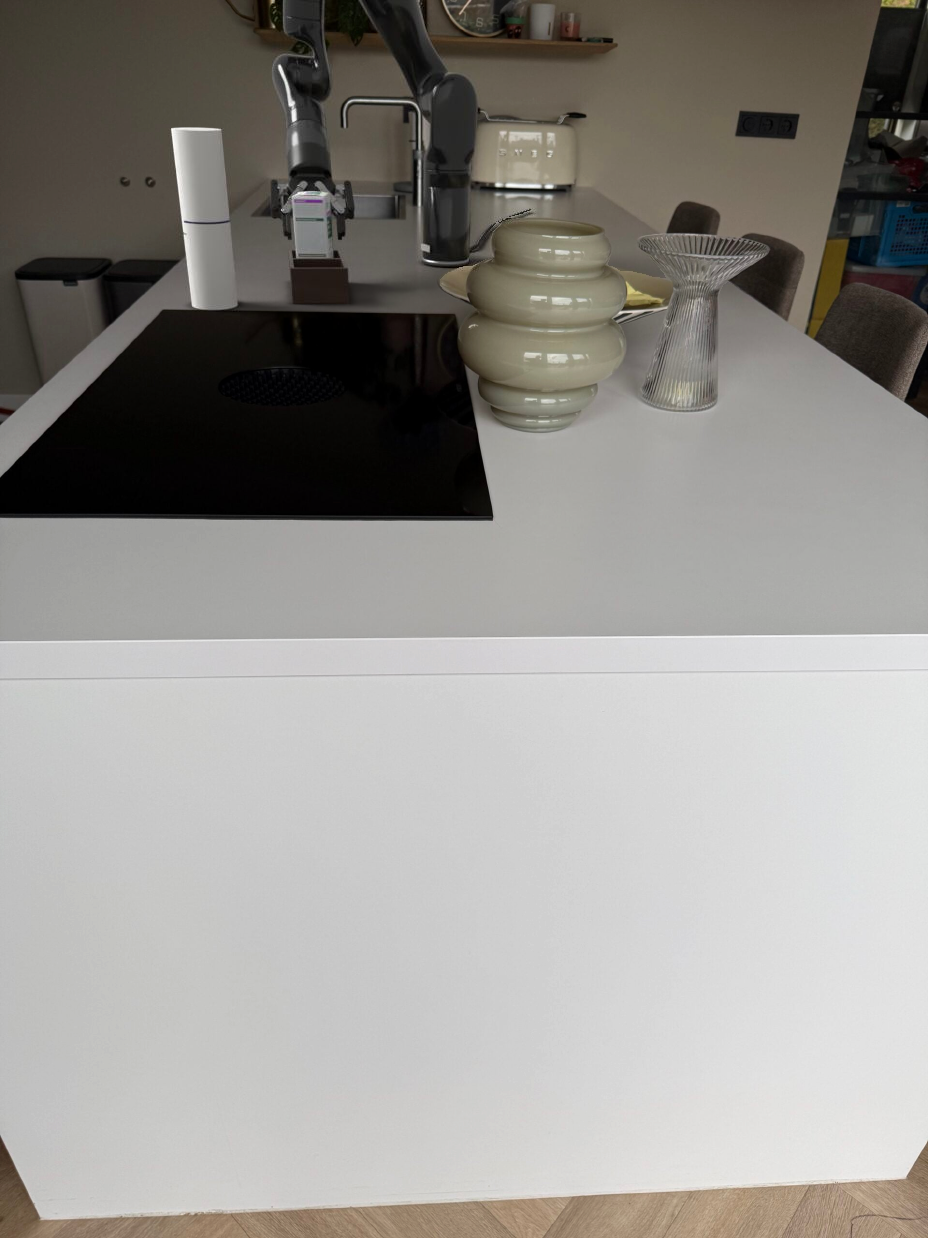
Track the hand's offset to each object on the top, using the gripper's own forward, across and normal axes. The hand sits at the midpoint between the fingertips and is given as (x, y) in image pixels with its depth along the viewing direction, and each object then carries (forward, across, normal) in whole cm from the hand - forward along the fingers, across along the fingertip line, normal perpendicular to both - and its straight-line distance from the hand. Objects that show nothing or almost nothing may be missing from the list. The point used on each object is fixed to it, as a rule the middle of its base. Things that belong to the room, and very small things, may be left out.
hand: (315, 236), depth 156 cm
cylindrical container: (+15, -17, -3) cm, 23 cm away
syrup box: (+5, 0, +7) cm, 8 cm away
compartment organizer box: (+8, 0, +4) cm, 9 cm away
